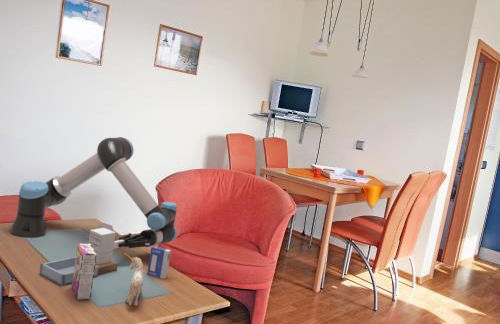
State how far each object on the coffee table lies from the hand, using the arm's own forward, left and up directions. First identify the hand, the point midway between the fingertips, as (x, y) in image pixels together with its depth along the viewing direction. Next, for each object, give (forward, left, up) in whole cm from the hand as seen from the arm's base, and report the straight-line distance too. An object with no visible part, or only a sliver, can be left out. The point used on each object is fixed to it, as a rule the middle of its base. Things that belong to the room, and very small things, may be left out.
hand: (111, 245), depth 188 cm
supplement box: (-1, -5, -6) cm, 8 cm away
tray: (-1, -19, -9) cm, 21 cm away
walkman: (+18, +10, -9) cm, 23 cm away
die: (-28, +22, -9) cm, 36 cm away
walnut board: (-1, -5, -9) cm, 10 cm away
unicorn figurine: (+26, -15, -9) cm, 32 cm away
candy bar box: (+14, -25, -9) cm, 31 cm away
